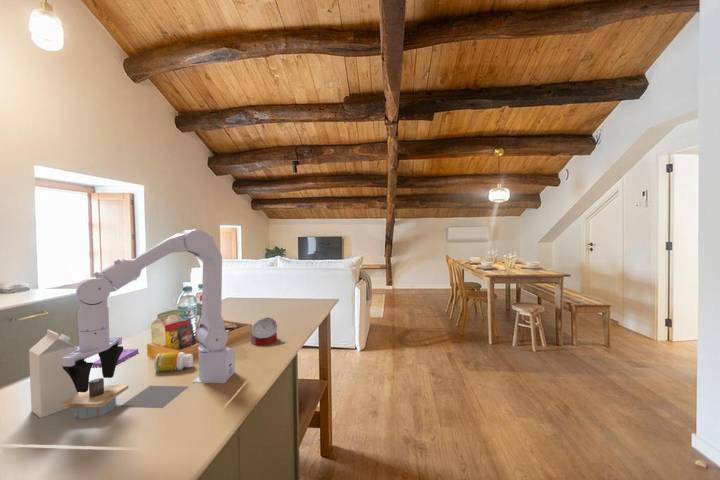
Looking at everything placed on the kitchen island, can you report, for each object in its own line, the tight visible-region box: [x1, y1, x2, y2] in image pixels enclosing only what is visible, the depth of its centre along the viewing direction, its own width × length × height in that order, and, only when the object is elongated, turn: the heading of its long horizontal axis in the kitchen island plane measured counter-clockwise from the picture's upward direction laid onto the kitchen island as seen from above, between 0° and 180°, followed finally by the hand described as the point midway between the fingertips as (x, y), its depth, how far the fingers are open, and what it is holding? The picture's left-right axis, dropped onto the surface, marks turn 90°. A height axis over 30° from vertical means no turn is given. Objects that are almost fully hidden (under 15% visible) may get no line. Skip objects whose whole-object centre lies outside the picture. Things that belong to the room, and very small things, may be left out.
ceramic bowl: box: [74, 396, 117, 419], centre depth 81 cm, size 8×8×4 cm
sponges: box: [92, 348, 139, 368], centre depth 114 cm, size 7×13×2 cm, turn 1°
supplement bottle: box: [153, 351, 194, 372], centre depth 104 cm, size 5×5×10 cm
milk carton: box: [28, 329, 80, 419], centre depth 82 cm, size 7×7×19 cm
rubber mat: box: [119, 385, 189, 409], centre depth 87 cm, size 11×11×1 cm
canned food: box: [250, 317, 278, 346], centre depth 131 cm, size 11×10×10 cm
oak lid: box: [61, 377, 129, 408], centre depth 80 cm, size 9×9×4 cm
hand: (95, 384), depth 80 cm, fingers open, 7 cm apart
